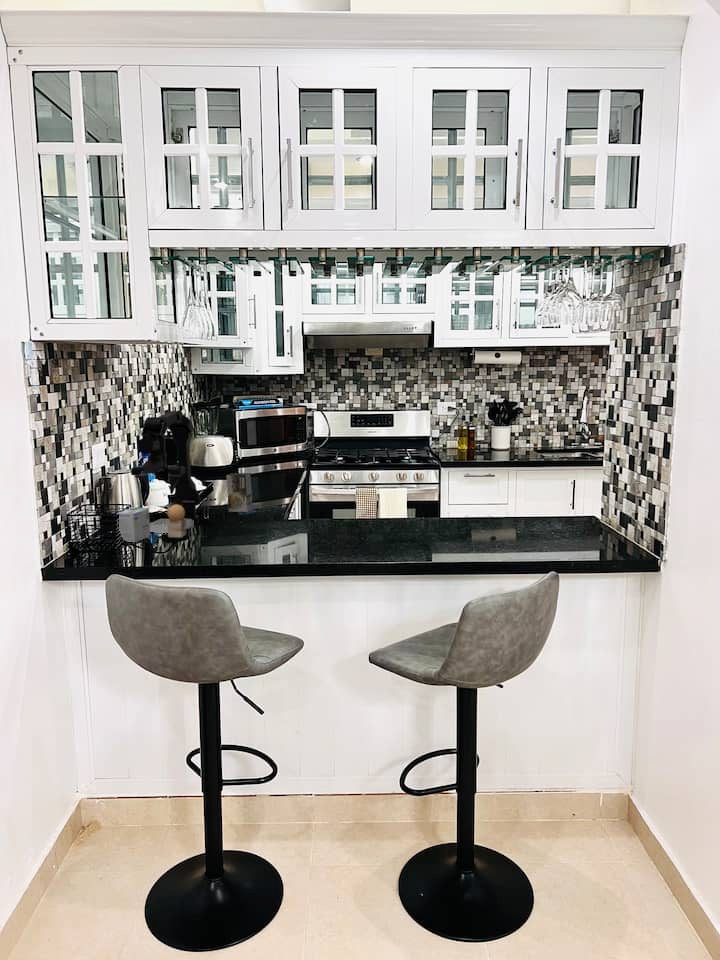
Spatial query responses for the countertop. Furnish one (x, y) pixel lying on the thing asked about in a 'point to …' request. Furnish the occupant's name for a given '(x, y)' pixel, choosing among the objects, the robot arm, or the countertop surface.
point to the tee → (177, 528)
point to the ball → (176, 512)
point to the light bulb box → (134, 524)
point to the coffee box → (239, 492)
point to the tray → (165, 525)
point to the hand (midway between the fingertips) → (159, 493)
